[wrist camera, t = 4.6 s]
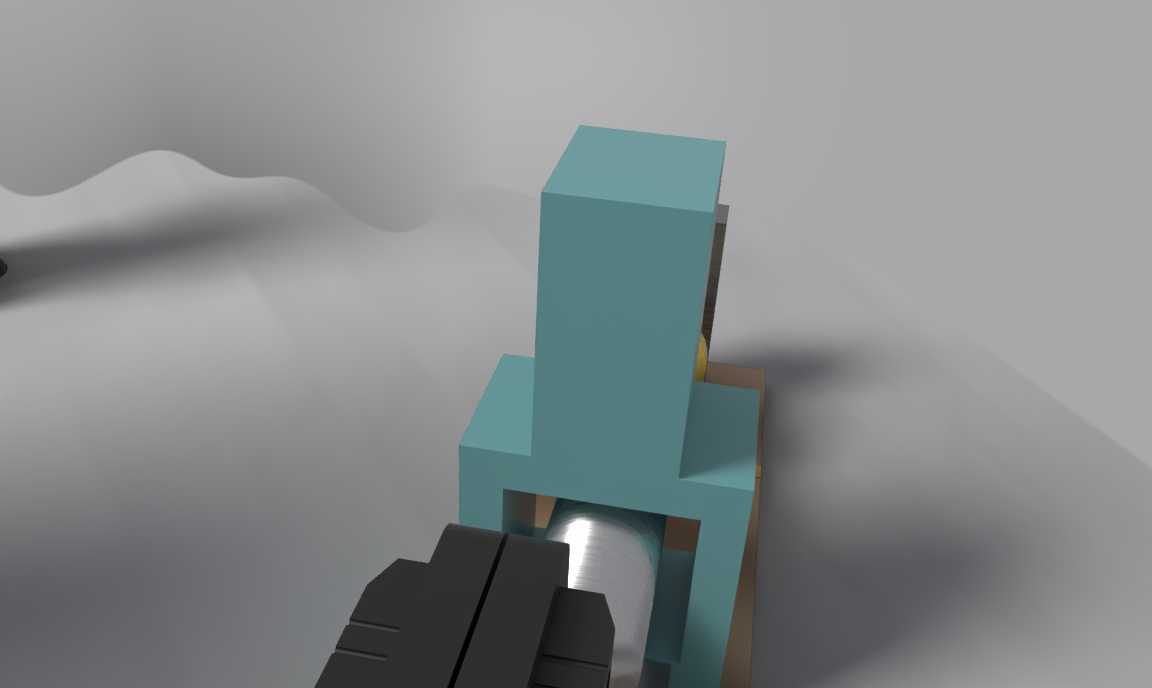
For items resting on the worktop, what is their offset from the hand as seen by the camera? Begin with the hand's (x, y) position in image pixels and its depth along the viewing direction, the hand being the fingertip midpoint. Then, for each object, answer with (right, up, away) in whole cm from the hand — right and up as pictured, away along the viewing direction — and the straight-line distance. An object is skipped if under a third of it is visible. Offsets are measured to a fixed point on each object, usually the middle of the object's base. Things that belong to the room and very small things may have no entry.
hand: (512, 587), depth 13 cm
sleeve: (+1, -5, +15) cm, 16 cm away
